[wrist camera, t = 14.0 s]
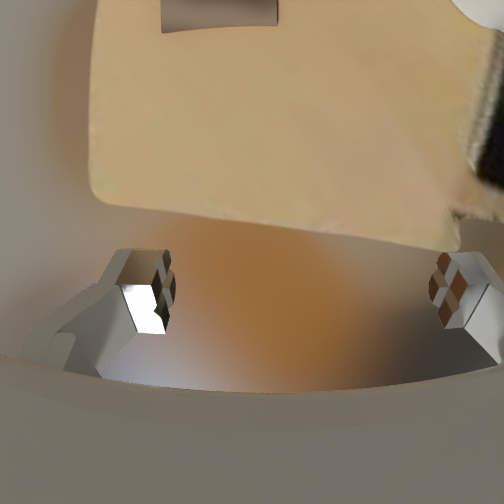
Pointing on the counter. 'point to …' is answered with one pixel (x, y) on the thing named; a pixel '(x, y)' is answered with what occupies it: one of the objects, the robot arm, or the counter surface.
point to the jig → (216, 14)
